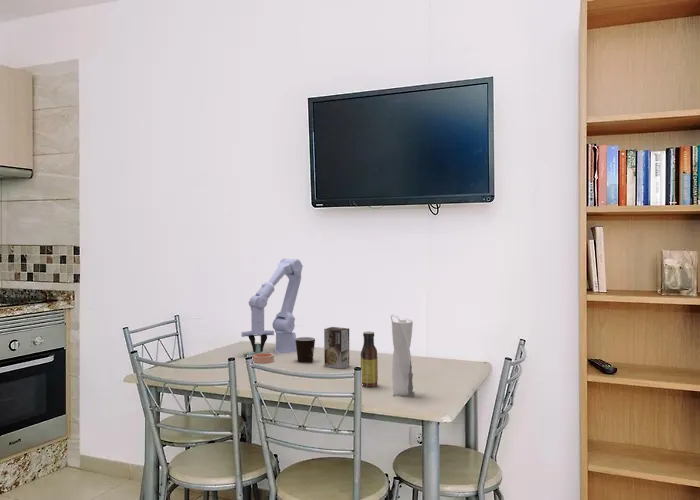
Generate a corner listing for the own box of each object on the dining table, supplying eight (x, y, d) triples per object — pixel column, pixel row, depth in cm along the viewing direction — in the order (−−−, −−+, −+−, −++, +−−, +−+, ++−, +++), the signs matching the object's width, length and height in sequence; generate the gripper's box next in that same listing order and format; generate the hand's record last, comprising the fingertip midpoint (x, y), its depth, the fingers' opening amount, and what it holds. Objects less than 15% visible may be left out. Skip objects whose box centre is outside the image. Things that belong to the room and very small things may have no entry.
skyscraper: (388, 396, 202) (389, 316, 201) (391, 390, 210) (391, 313, 209) (412, 398, 201) (413, 317, 200) (414, 391, 209) (415, 313, 208)
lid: (266, 352, 271) (266, 342, 271) (269, 356, 262) (269, 345, 262) (246, 353, 269) (246, 342, 269) (248, 358, 260) (248, 346, 260)
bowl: (272, 359, 260) (272, 352, 260) (275, 363, 251) (275, 356, 251) (251, 360, 257) (251, 353, 257) (253, 364, 249) (253, 357, 249)
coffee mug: (306, 364, 249) (306, 341, 249) (291, 362, 254) (291, 339, 254) (323, 360, 259) (323, 337, 258) (308, 357, 264) (308, 335, 263)
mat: (269, 353, 273) (269, 352, 273) (272, 358, 261) (272, 357, 261) (243, 354, 270) (243, 353, 270) (245, 359, 258) (245, 359, 258)
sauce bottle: (367, 382, 220) (368, 330, 220) (381, 385, 216) (381, 331, 216) (356, 385, 215) (357, 332, 215) (370, 388, 211) (370, 334, 211)
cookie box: (350, 366, 247) (350, 328, 246) (341, 369, 241) (341, 330, 241) (332, 363, 252) (332, 326, 251) (323, 366, 246) (323, 328, 246)
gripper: (272, 319, 271) (272, 349, 272) (240, 321, 267) (240, 350, 267) (274, 322, 264) (274, 352, 265) (242, 323, 260) (242, 353, 261)
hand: (257, 351), depth 266 cm, fingers closed on lid, 3 cm apart
